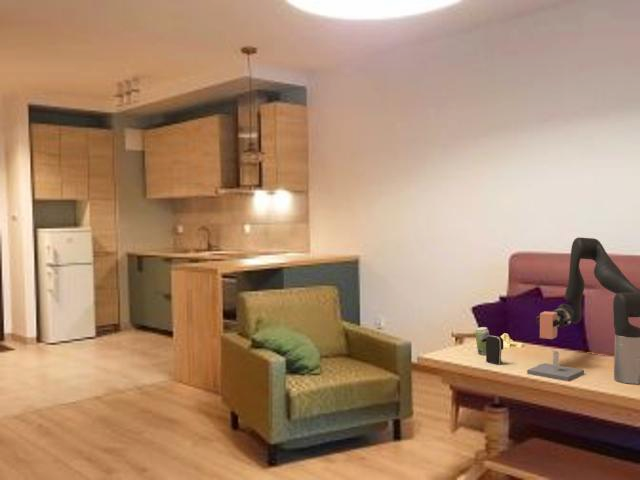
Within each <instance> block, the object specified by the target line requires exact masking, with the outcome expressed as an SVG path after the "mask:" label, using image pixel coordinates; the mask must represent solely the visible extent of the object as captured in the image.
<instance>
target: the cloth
mask: <svg viewBox="0 0 640 480" xmlns="http://www.w3.org/2000/svg"><path fill="white" fill-rule="evenodd" d="M500 337H501V338H502V339H503V349H506V348H507V349H508V350H509V349H511V346H512V347H517V348H523V347H525V344H524V342H516V341H514V340H513V339H511V338H510V336H509V334H508V333H505V332H504V333H503V334H502V335H500Z"/></svg>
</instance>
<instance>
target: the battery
mask: <svg viewBox="0 0 640 480" xmlns="http://www.w3.org/2000/svg"><path fill="white" fill-rule="evenodd" d="M502 350H504V348H503V339H502V338H501V336H498V335H490V336H488V337H487V338H486V355H485V359H486V360H485V361H486V363H490V364H493V365H501V364H503V361H502Z"/></svg>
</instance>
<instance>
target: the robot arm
mask: <svg viewBox="0 0 640 480" xmlns="http://www.w3.org/2000/svg"><path fill="white" fill-rule="evenodd" d="M569 258H570V259H569V261H570V262H569V273H568V275H569V276H568V279H567V280H568V281H567V286H566V289H565V293H564V300H565V301H566V302H568V303H570V304H571V305H569V304H567V303H561V304H560V305H558V307H557V309H554V310H551V311H550V312H557V320H555V321H553V327H556V326H557V329H561V328H563V327H566V326H571V323H572V324H579V322H581V320H582V317H583V311H582V310H583V309H582V299H583V294H584V292H585V280H584V278H583V276H582V271H581V269H580V262H581V260H590V261H591V260H592V261H593V262H595V265H594V268H593V274H594V277H595V279H596V280H597V281H598V283H599V284H600V285H601V286H602V287H603V288H604V289H606V290H608V291H610V293H611V292H612V293H613V294H615V295H614V297H613V303H612V305H613V309H612V311H613V328H614V353H613V354H614V355H613V356H614V357H613V358H614V359H613V360H614V361H613V362H614V363H613V380H614V381H616V382H617V383H618V382H619V383H623V384H633V385H634V384H635V385H639V384H640V327H639V326H636V325H633V324H631V323H630V319H629V318H640V289H638V288H637V287H636V286H635V285H634V284H633V283H632V282H631V281H630V280H629V279H628V278H627V277H626V276H625V274H624V273H623V271H622V270H621V269H620V268H619V266H618V265H616V263H615V262H614V261H613V260H612V258H611V257H610V256H609V254H608V253H607V251H606V249H605V248H604V246H603V244H602V243H601V241H600V240H598V239H596V238H594V237H576V238H575V239H574V240H573V242H572V244H571V250H570V257H569ZM536 324H537V325H538V326H540V315H537V316H536Z"/></svg>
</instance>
